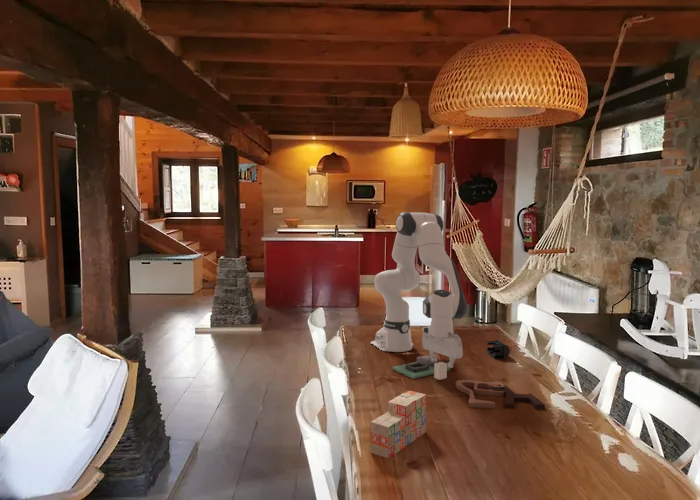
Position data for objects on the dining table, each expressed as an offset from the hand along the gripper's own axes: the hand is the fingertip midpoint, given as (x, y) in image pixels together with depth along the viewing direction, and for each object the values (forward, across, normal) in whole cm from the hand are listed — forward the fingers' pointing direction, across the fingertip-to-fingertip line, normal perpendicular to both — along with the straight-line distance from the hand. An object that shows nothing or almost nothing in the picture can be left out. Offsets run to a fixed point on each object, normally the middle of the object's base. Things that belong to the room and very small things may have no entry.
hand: (442, 364), depth 208 cm
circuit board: (+5, +13, 0) cm, 14 cm away
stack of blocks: (+7, -35, +50) cm, 61 cm away
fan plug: (+6, +1, 0) cm, 6 cm away
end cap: (+6, +8, -43) cm, 44 cm away
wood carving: (+7, -25, -3) cm, 27 cm away
